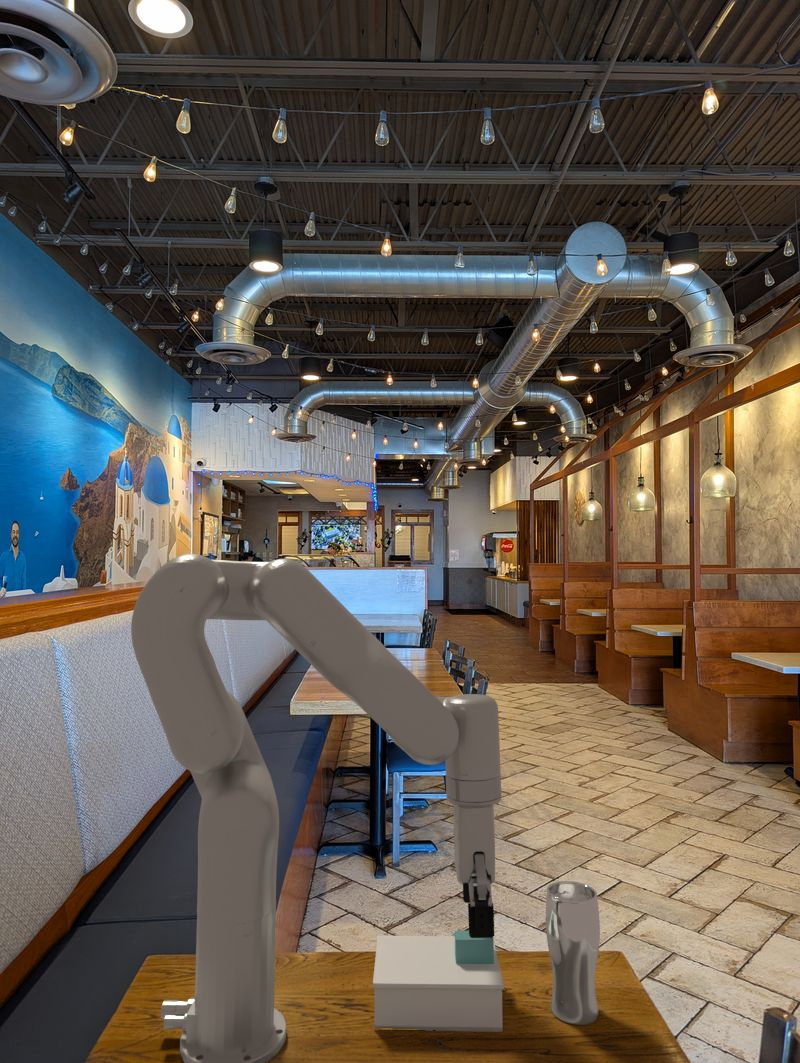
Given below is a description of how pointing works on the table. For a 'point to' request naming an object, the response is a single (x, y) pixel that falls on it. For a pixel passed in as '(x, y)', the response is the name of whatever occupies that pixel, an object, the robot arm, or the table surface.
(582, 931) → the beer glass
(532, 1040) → the table surface
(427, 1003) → the mailer box
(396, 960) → the box lid
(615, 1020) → the table surface
